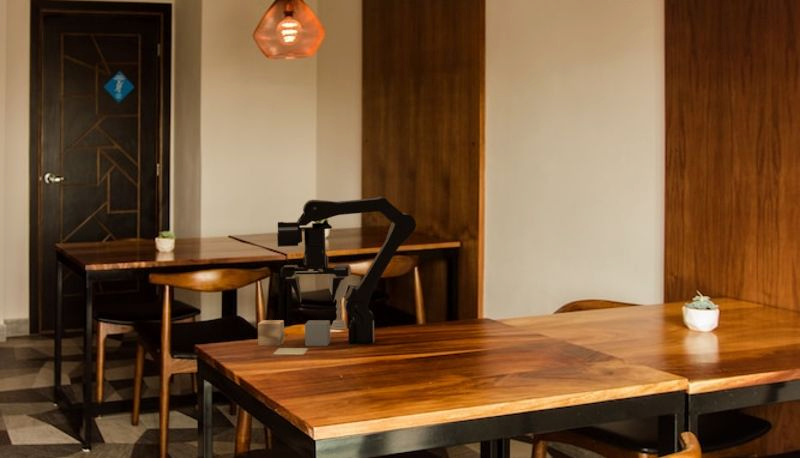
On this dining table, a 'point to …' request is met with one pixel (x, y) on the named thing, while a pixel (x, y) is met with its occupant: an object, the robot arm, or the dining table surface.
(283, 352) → the mat
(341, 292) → the chalice
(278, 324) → the birch block
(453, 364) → the dining table surface
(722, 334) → the dining table surface
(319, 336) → the slate block
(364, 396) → the dining table surface
